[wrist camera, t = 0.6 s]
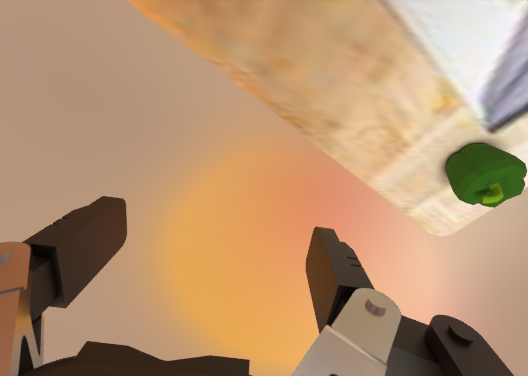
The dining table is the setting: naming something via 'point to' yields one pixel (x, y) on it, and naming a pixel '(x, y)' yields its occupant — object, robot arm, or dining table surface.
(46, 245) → the robot arm
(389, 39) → the dining table surface
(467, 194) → the bell pepper
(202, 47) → the dining table surface
